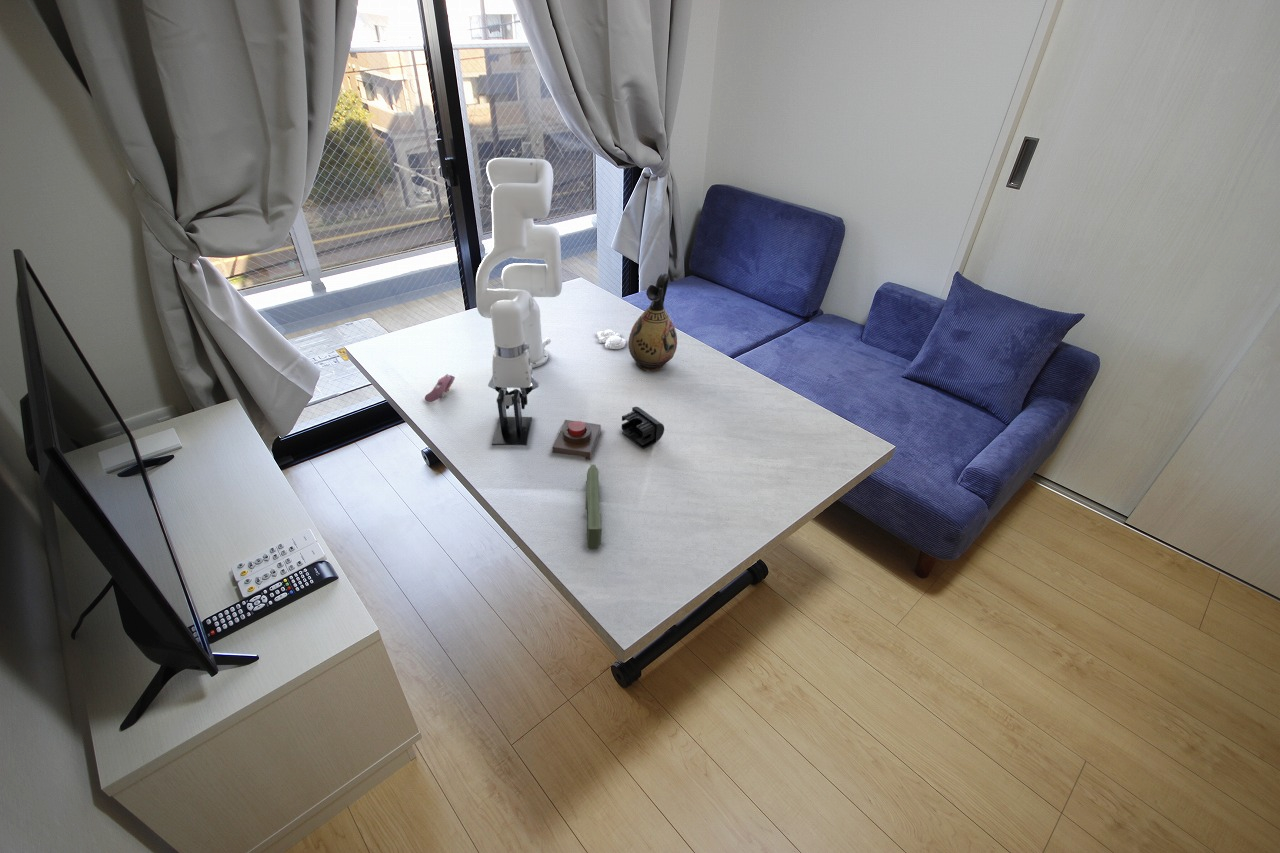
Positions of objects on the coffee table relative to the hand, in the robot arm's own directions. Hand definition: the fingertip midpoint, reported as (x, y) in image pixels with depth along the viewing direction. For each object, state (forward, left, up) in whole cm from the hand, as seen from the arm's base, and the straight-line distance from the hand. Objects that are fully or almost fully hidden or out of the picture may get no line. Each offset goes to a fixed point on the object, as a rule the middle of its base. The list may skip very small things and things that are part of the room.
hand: (515, 405), depth 158 cm
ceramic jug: (-46, +18, -3) cm, 50 cm away
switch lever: (+4, +2, +4) cm, 6 cm away
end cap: (-11, +34, -3) cm, 36 cm away
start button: (+1, +21, +1) cm, 21 cm away
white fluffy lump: (-51, -1, -3) cm, 51 cm away
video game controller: (+4, -25, -3) cm, 25 cm away
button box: (+1, +21, -3) cm, 22 cm away
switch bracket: (+7, +4, -3) cm, 9 cm away
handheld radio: (+19, +38, -3) cm, 43 cm away
